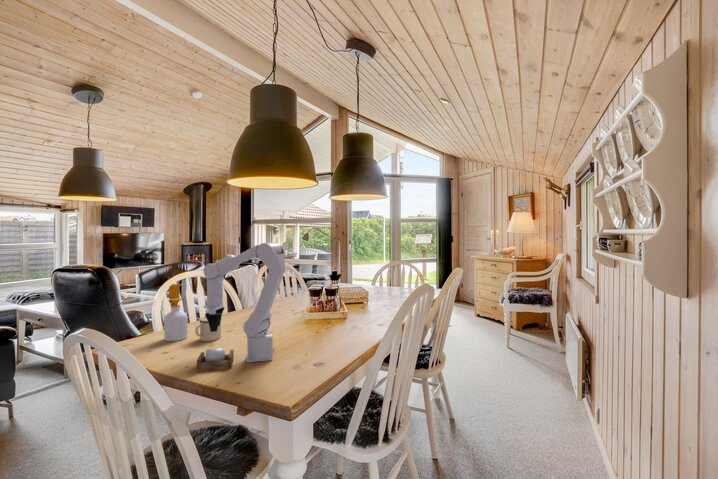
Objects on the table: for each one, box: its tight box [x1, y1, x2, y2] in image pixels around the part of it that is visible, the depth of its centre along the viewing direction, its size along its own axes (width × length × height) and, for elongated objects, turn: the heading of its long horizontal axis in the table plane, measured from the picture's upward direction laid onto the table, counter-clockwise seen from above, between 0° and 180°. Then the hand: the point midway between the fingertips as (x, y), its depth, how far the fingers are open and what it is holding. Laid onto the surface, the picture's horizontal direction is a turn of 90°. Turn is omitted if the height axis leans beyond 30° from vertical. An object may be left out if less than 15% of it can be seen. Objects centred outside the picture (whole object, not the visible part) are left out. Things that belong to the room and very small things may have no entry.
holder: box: [196, 349, 235, 373], centre depth 122 cm, size 11×8×4 cm
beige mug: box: [194, 316, 222, 342], centre depth 153 cm, size 12×9×12 cm
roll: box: [204, 347, 226, 363], centre depth 122 cm, size 6×5×5 cm
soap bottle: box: [163, 283, 188, 342], centre depth 154 cm, size 9×9×25 cm
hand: (215, 328), depth 134 cm, fingers open, 7 cm apart
